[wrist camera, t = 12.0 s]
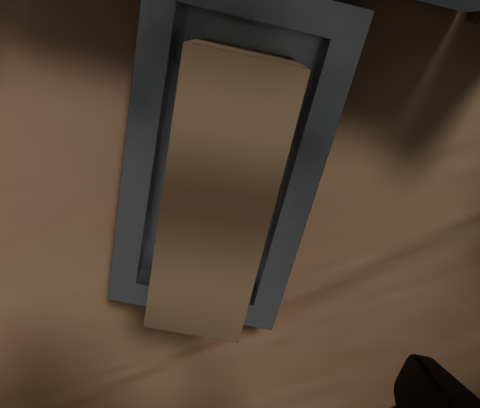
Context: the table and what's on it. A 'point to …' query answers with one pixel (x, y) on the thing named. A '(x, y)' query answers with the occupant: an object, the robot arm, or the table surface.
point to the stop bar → (220, 184)
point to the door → (456, 4)
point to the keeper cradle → (161, 113)
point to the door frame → (474, 17)
